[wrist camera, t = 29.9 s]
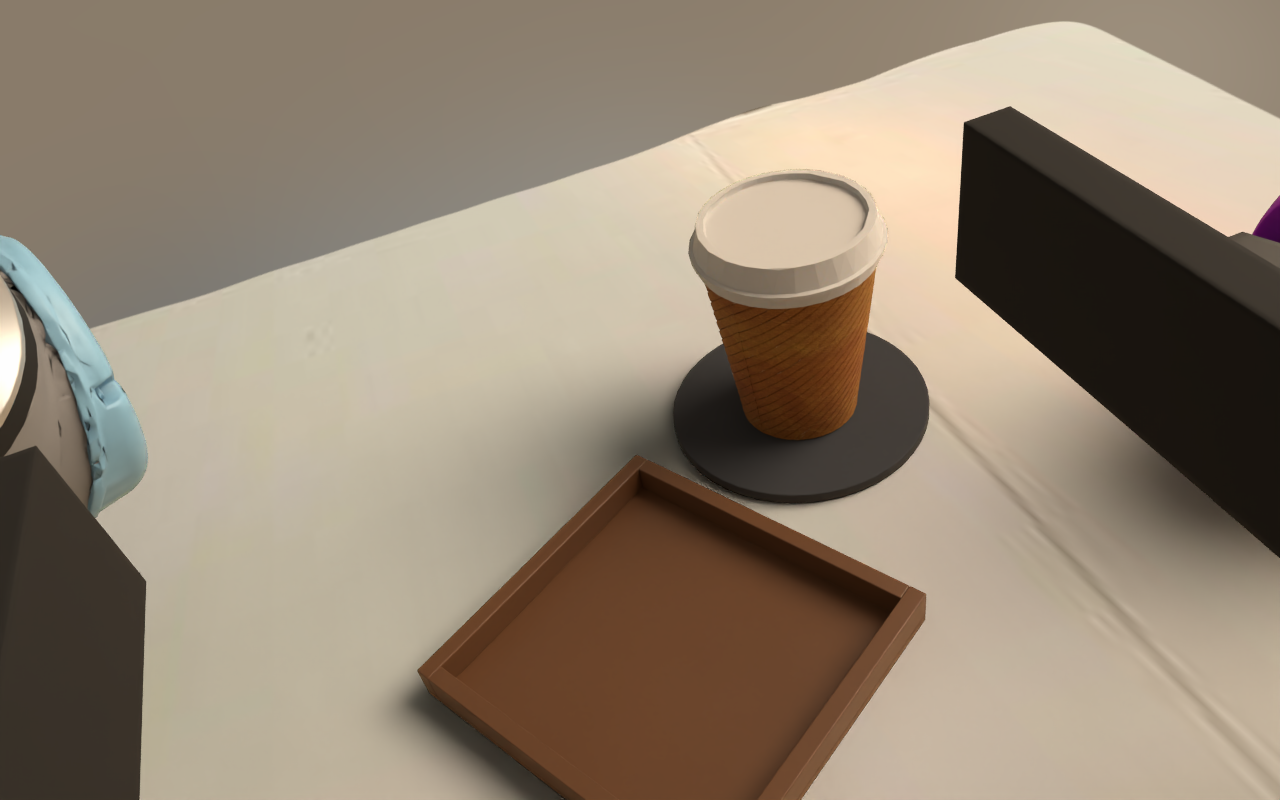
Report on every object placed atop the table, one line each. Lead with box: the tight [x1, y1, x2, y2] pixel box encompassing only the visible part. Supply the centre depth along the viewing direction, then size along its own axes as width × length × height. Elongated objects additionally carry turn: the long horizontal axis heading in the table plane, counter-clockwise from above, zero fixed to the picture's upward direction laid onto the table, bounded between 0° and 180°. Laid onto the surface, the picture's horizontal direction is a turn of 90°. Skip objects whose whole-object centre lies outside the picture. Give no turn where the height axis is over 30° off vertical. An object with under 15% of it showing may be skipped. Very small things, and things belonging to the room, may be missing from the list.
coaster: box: [673, 332, 929, 503], centre depth 55 cm, size 14×14×1 cm
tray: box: [418, 455, 926, 800], centre depth 44 cm, size 17×16×2 cm
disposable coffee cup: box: [689, 169, 888, 440], centre depth 51 cm, size 10×10×12 cm
